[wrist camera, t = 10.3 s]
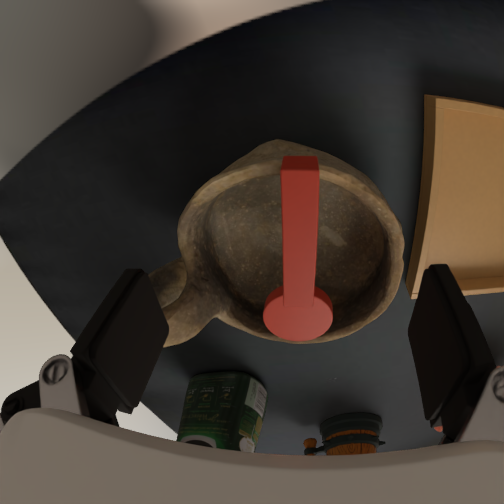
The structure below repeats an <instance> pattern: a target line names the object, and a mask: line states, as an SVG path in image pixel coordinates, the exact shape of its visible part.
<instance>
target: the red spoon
mask: <svg viewBox="0 0 504 504" xmlns="http://www.w3.org/2000/svg"><path fill="white" fill-rule="evenodd" d="M319 177H320V171H319V164H318V158H317V156H283V160H282V165H281V169H280V181H281V212H282V255H283V285H282V286H280V287H278V288H276V289H275V290H273V291H272V292H271V293H270V294H269V295H268V297H267V299H266V301H265V305H264V311H263V320H264V323H265V325H266V327H267V328H268V329H269V330H270V331H271V332H272V333H273V334H274V335H276V336H278V337H280V338H282V339H286V340H290V341H308V340H312V339H315V338H317V337H319V336H321V335H323V334H324V333H325V332H326V331H327V330H328V329H329V328H330V326H331V324H332V321H333V308H332V302H331V300H330V298H329V296H328V295H327V294H326V293H325V292H324V291H323V290H321V289H320V288H318V287H316V286H315V274H316V258H317V239H318V215H319Z"/></svg>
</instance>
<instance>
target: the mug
mask: <svg viewBox="0 0 504 504" xmlns="http://www.w3.org/2000/svg"><path fill="white" fill-rule="evenodd" d="M382 427H383V426H382V420H381V418H380V417H378V416H376V415H374V414H369V413H349V414H344V415H338V416H335V417H333V418H330V419H327V420H326V421H325V422H323V423H322V424H321V427H320V434H321V436H322V440H323V442H322V443H323V444H324V446H321V447H319V448H315V447H316V443H317V441H316V439H314V438H309V439H306V440H305V441H304V443H303V444H304V446H305V448H306V449H305V450H304V454H305V455H306V456H315V455H316V454H317V453H321V452H325V453H326V454H327V455H326V456H331V455H356V454H371V453H376V451H377V450H376V449H377V448H378V447H379V445H383V444H385V442H383V441H379V439H378V438H379V435H380V430H381V429H382Z"/></svg>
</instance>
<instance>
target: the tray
mask: <svg viewBox="0 0 504 504" xmlns="http://www.w3.org/2000/svg"><path fill="white" fill-rule="evenodd" d="M431 264H447V265H448V266H449V268H450V270H451V272H452V274H453V275H454V277H455V279H456V281H457V283H458V285H459V287H460V289H461V291H462V293H463V295H474V294H485V293H496V292H504V108H503V107H499V106H494V105H489V104H485V103H479V102H474V101H468V100H463V99H456V98H450V97H442V96H434V95H426V94H425V95H424V144H423V162H422V175H421V187H420V196H419V205H418V213H417V220H416V227H415V234H414V240H413V246H412V252H411V257H410V263H409V268H408V273H407V278H406V282H405V284H406V287H407V290H408V293H409V295H410V298H411V299H417V296H418V292H419V288H420V284H421V280H422V276H423V272H424V270H425V269H428V268H429V266H430V265H431Z"/></svg>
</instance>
